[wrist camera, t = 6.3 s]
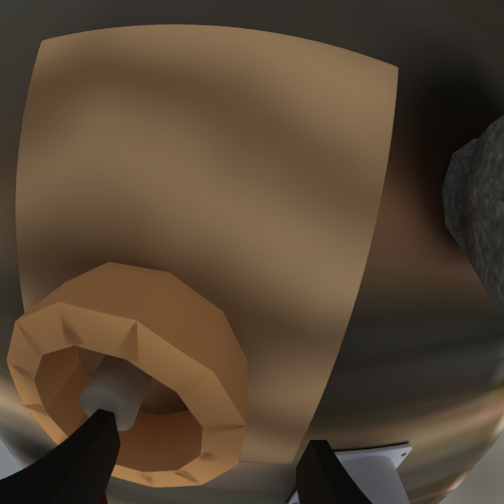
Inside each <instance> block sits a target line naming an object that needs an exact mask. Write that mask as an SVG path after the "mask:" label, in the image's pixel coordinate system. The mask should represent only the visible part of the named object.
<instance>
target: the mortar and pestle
mask: <svg viewBox="0 0 504 504" xmlns="http://www.w3.org/2000/svg"><path fill="white" fill-rule="evenodd" d="M442 196H443V205H444V214H445V225H446V228H447V230H448V231H449V232H450V234H451V235H452V236H453V238H454V239H455V240H456V242H457V243H458V245H459V246H460V247H461V249H462V250H463V251H465V252H467V254H468V257H469V259H470V261H471V264H472V266H473V268H474V271H475V272H476V274H477V275H478V277H479V279H480V280H481V282H482V283H483V285H484V287H485V288H486V290H487V292H488V293H489V295H490V297H491V298H492V300H493V302H494V304H495V305H496V307H497V309H498V310H499V311H500V312H501V313H502V314H503V315H504V115H503V116H501V117H500V118H499V119H497V120H496V121H494V122H493V123H492V124H490V125H489V126H488V128H487V129H486V130H485V131H484V132H483V134H482V135H481V136H480V137H479V138H478V139H473V140H472V141H470V142H469V143H467V144H466V145H464V146H463V147H462V148H460V149H459V150H457V151H456V152H454V153H453V155H452V158H451V161H450V164H449V168H448V171H447V174H446V177H445V180H444V183H443V186H442Z"/></svg>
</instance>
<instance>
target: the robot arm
mask: <svg viewBox="0 0 504 504" xmlns="http://www.w3.org/2000/svg"><path fill="white" fill-rule="evenodd" d="M120 445H121V442H120V438H119V433H118V429H117V424H116V420H115V415H114V413H113V412H110V411H106V410H103V409H100V408H99V409H97V410H96V411H95V412H94V413H93V414H92V415H91V416H90V417H89V418H88V419H87V420H86V421H85V422H84V423H83V424H82V425H81V426H80V427H79V428H78V429H77V430H76V431H74V432H73V433H72V434H71V435H70V436H69V437H68V438H66V439H65V440H64V441H63V442H62V443H61V444H59V445H58V446H57V447H56V448H54V449H53V450H52V451H50V452H49V453H48V454H46V455H45V456H44V457H42V458H41V459H39V460H38V461H36V462H35V463H33V464H31V465H30V466H28V467H26V468H24V469H23V470H21V471H19V472H17V473H15V474H13V475H11V476H8V477H6V478H4V479H1V480H0V504H100V501H101V499H102V496H103V494H104V491H105V489H106V486H107V484H108V482H109V479H110V477H111V474H112V472H113V469H114V467H115V464H116V460H117V457H118V453H119V449H120ZM411 450H412V445H411V444H404V445H397V446H391V447H384V448H376V449H367V450H356V451H343V452H334V451H333V450H332V448H331V447H330V445H329V443H328V442H327V441H326V440H310V442H309V444H308V446H307V448H306V450H305V452H304V454H303V456H302V458H301V459H300V461H299V463H298V465H297V467H296V480H297V489H296V491H295V493H294V494H293V496H292V497H291V499H290V500H289V502H288V503H287V504H410V503H409V500H408V497H407V495H406V492H405V490H404V488H403V485H402V483H401V480H400V478H399V475H398V473H397V471H396V468H397V467H398V466H399V465H400V464H401V462H402V461H403V460H404V459H405V457H406V456H407V455H408V454H409V452H410V451H411Z"/></svg>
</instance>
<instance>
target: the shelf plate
mask: <svg viewBox="0 0 504 504" xmlns="http://www.w3.org/2000/svg"><path fill="white" fill-rule="evenodd" d="M397 79H398V67H396V66H393V65H391V64H388V63H385V62H383V61H380V60H377V59H374V58H371V57H368V56H365V55H362V54H359V53H356V52H353V51H350V50H346V49H343V48H339V47H336V46H332V45H328V44H324V43H320V42H316V41H312V40H308V39H303V38H299V37H294V36H289V35H283V34H278V33H272V32H265V31H259V30H251V29H243V28H234V27H222V26H208V25H143V26H128V27H117V28H108V29H100V30H93V31H87V32H81V33H75V34H70V35H65V36H60V37H55V38H51V39H47V40H43V41H42V42H41V46H40V49H39V52H38V55H37V59H36V62H35V66H34V69H33V73H32V77H31V81H30V86H29V90H28V95H27V99H26V104H25V110H24V115H23V121H22V128H21V135H20V143H19V152H18V163H17V177H16V243H17V257H18V268H19V277H20V285H21V293H22V299H23V305H24V311H25V313H26V312H27V311H29V310H30V309H31V308H32V307H34V306H35V305H36V304H38V303H39V302H40V301H41V300H43V299H44V298H45V297H47V296H48V295H49V294H51V293H52V292H53V291H54V290H56V289H57V288H58V287H60V286H61V285H63V284H64V283H65V282H67V281H69V280H71V279H73V278H75V277H77V276H79V275H81V274H84V273H86V272H88V271H90V270H92V269H94V268H97V267H99V266H101V265H103V264H105V263H108V262H113V263H119V264H125V265H130V266H136V267H142V268H148V269H154V270H160V271H166V272H170V273H171V274H173V275H174V276H175V277H177V278H178V279H179V280H181V281H182V282H184V283H185V284H186V285H188V286H189V287H190V288H192V289H193V290H194V291H196V292H197V293H199V294H200V295H201V296H203V297H204V298H205V299H207V300H208V301H210V302H211V303H212V304H214V305H215V306H217V307H218V308H220V309H221V310H222V311H223V312H224V314H225V316H226V318H227V320H228V322H229V324H230V326H231V328H232V330H233V332H234V334H235V337H236V339H237V341H238V343H239V345H240V347H241V349H242V351H243V353H244V355H245V357H246V359H247V394H248V426H247V430H246V434H245V438H244V442H243V446H242V450H241V454H240V458H239V461H241V462H254V463H275V464H291V463H292V461H293V459H294V457H295V455H296V453H297V451H298V449H299V446H300V444H301V442H302V440H303V438H304V436H305V434H306V431H307V429H308V427H309V425H310V422H311V420H312V418H313V416H314V413H315V411H316V409H317V406H318V404H319V401H320V399H321V397H322V394H323V392H324V389H325V387H326V384H327V382H328V379H329V376H330V374H331V371H332V368H333V366H334V363H335V360H336V358H337V355H338V352H339V349H340V346H341V344H342V341H343V338H344V335H345V332H346V329H347V326H348V323H349V320H350V316H351V313H352V310H353V307H354V304H355V300H356V297H357V294H358V290H359V287H360V283H361V280H362V276H363V273H364V269H365V265H366V261H367V257H368V254H369V250H370V246H371V241H372V237H373V233H374V229H375V224H376V220H377V215H378V211H379V206H380V201H381V196H382V191H383V186H384V180H385V175H386V169H387V163H388V157H389V150H390V143H391V136H392V129H393V121H394V112H395V102H396V92H397ZM77 350H78V355H79V361H80V363H81V365H82V366H83V368H84V369H85V370H86V372H87V373H88V375H89V376H90V378H91V379H90V381H89V382H88V384H87V385H86V387H85V388H84V390H83V392H82V393H81V395H80V404H81V407H82V409H83V410H84V412H85V413H86V414H87V415H88V416H89V417H90V416H91V415H92V414H93V413H94V412H95V411H96V410H97V409H99V408H100V409H103V410H106V411H110V412H113V413H114V415H115V420H116V424H117V429H118V431H125V430H128V429H130V428H131V427H132V426H133V424H134V421H135V418H136V416H137V413H138V411H142V412H146V413H151V414H155V415H166V414H171V413H177V412H182V411H188V410H189V409H188V407H187V406H186V405H185V403H184V402H183V400H182V399H181V398H180V396H179V395H178V393H177V392H176V391H174V390H172V389H171V388H169V387H168V386H166V385H164V384H163V383H161V382H159V381H158V380H156V379H155V378H153V377H152V376H150V375H149V374H147V373H146V372H144V371H142V370H141V369H139V368H138V367H137V366H135V365H134V364H132V363H131V362H129V361H128V360H126V359H123V358H119V357H115V356H111V355H107V354H103V353H100V352H96V351H92V350H89V349H85V348H82V347H79V346H77Z"/></svg>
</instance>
